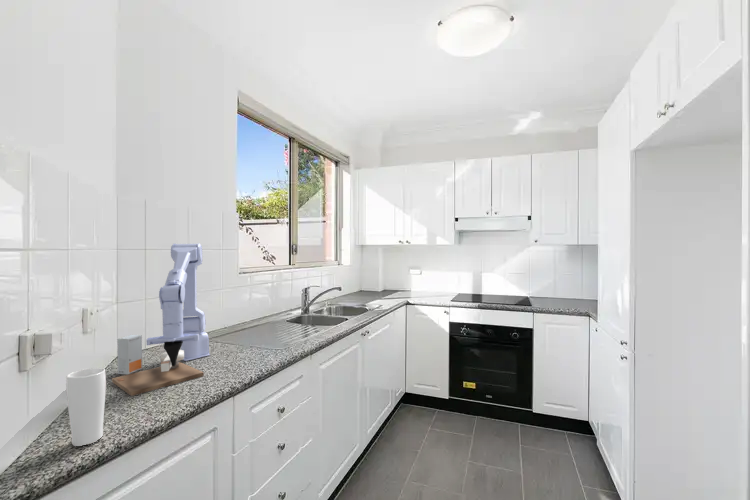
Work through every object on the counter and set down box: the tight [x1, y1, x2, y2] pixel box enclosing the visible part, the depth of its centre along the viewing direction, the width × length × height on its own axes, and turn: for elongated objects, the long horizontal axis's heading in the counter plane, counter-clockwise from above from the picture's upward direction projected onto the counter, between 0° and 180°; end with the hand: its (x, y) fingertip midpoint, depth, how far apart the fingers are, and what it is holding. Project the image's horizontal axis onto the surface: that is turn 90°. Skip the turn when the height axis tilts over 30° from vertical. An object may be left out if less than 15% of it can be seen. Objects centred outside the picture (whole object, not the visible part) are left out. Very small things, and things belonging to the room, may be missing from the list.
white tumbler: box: [65, 367, 107, 447], centre depth 79 cm, size 7×7×15 cm
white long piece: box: [160, 349, 184, 372], centre depth 121 cm, size 16×7×3 cm, turn 19°
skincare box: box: [116, 334, 143, 375], centre depth 125 cm, size 6×4×12 cm
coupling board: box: [111, 361, 205, 397], centre depth 118 cm, size 20×18×4 cm
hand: (173, 365), depth 117 cm, fingers closed
